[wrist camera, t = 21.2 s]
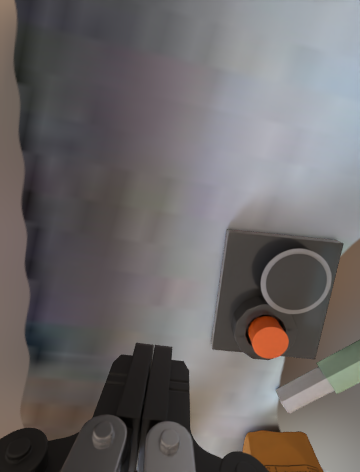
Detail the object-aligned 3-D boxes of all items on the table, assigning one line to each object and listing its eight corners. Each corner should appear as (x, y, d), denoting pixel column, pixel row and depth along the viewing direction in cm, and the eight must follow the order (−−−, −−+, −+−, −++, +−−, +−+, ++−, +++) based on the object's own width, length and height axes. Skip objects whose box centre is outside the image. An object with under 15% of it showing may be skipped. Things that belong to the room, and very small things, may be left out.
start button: (250, 314, 30) (255, 325, 28) (284, 317, 30) (292, 328, 28) (245, 343, 31) (249, 356, 28) (278, 347, 31) (285, 360, 29)
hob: (226, 228, 31) (231, 236, 27) (336, 239, 31) (354, 248, 27) (210, 341, 34) (213, 361, 31) (309, 351, 34) (323, 371, 31)
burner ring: (266, 245, 28) (267, 245, 27) (338, 252, 28) (339, 252, 27) (255, 310, 29) (255, 311, 29) (322, 316, 29) (323, 317, 29)
